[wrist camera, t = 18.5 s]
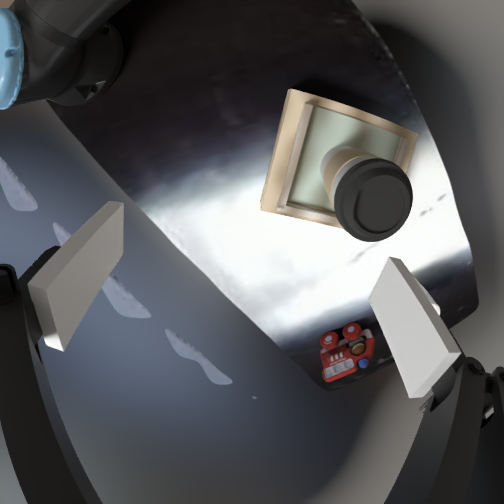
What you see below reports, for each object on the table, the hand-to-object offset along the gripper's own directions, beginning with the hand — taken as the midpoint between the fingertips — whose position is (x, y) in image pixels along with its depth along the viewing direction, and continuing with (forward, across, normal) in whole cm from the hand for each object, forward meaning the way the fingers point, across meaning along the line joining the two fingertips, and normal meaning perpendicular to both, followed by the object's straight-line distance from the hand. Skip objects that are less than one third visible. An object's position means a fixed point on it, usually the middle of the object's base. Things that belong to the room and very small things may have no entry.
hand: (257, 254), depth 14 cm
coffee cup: (+29, +13, 0) cm, 31 cm away
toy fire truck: (+33, +28, -35) cm, 56 cm away
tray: (+33, +13, 0) cm, 35 cm away
